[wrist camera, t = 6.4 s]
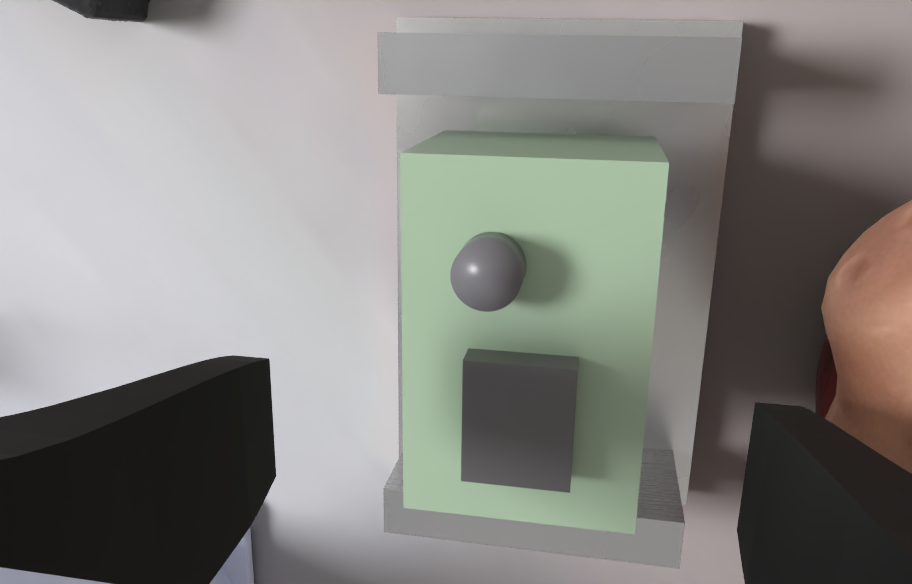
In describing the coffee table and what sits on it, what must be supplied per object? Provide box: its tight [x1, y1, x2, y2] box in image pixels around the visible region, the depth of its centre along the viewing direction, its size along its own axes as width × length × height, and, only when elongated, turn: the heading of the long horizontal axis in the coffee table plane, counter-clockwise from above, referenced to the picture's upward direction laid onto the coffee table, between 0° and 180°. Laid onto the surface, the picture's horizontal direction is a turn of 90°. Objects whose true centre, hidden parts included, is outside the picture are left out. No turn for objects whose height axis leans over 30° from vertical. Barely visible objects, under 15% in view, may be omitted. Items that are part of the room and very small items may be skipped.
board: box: [400, 130, 669, 534], centre depth 16 cm, size 7×4×5 cm, turn 179°
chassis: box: [378, 17, 743, 568], centre depth 19 cm, size 12×8×4 cm, turn 179°
